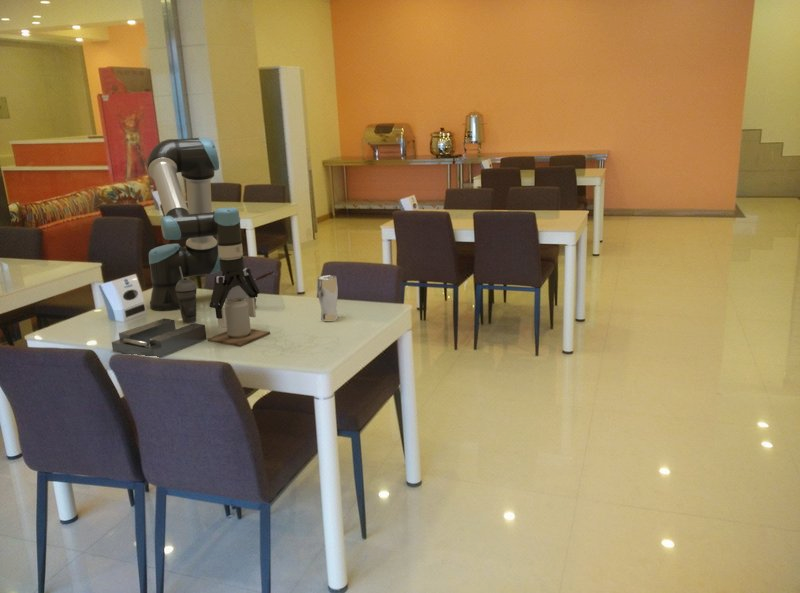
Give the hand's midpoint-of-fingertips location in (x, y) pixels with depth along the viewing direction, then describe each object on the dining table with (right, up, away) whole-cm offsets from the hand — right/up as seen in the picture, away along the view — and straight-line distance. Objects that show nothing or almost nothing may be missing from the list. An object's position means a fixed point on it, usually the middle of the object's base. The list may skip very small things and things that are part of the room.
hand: (237, 322), depth 224 cm
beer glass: (+28, 0, +18) cm, 33 cm away
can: (0, -4, +1) cm, 5 cm away
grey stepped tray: (-24, -7, -3) cm, 25 cm away
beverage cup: (-22, -1, +22) cm, 31 cm away
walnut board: (0, -5, +1) cm, 5 cm away
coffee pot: (-2, +3, +35) cm, 36 cm away
